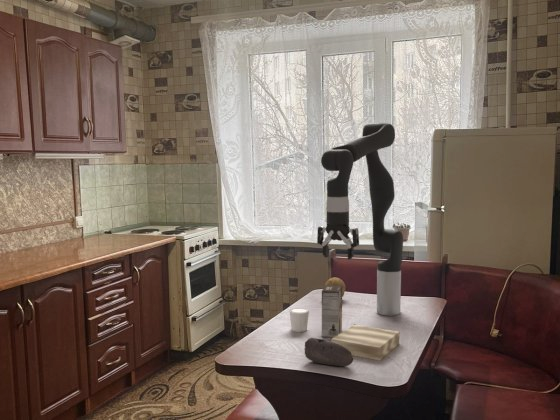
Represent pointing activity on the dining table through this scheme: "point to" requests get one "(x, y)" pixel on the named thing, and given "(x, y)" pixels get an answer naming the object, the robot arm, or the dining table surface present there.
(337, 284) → the natural sponge
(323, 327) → the coffee box
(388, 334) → the birch plinth
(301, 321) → the white faceted cup
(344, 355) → the perforated stone tool
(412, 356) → the dining table surface
